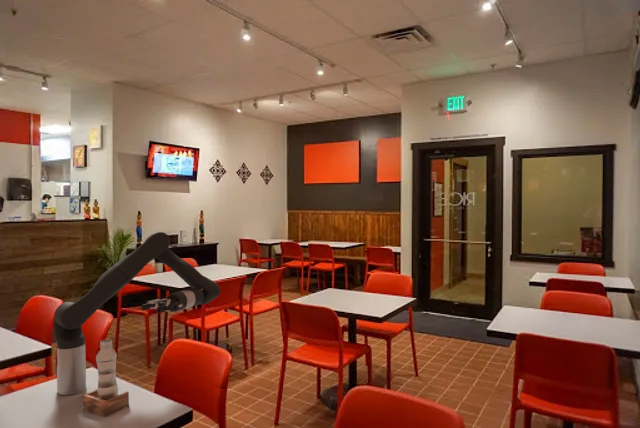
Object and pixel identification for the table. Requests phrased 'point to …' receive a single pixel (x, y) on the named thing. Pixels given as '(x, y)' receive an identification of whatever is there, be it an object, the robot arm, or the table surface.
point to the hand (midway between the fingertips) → (149, 309)
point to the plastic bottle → (106, 371)
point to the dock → (104, 403)
